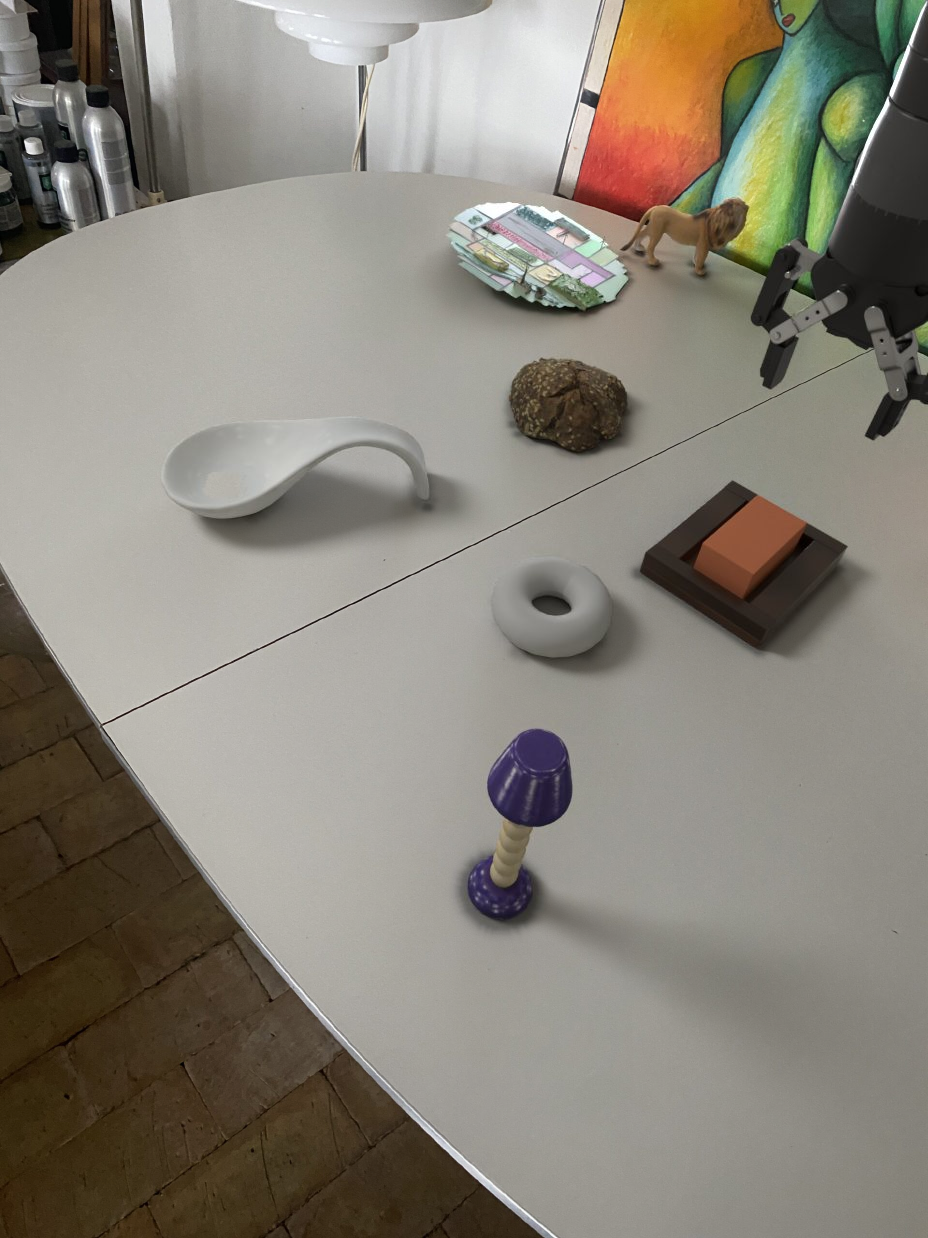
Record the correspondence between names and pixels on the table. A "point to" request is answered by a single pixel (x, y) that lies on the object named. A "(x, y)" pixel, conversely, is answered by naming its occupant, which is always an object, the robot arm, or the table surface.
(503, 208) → the city model
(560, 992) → the table surface
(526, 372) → the bread roll
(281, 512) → the table surface
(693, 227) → the lion figurine
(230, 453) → the spoon rest
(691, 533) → the back plate
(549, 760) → the toy lamp
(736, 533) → the orange block
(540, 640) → the donut
